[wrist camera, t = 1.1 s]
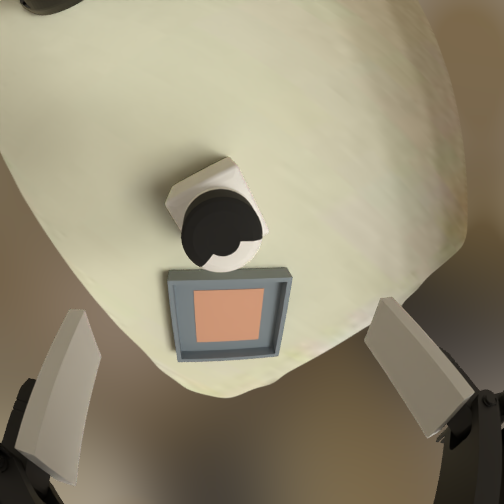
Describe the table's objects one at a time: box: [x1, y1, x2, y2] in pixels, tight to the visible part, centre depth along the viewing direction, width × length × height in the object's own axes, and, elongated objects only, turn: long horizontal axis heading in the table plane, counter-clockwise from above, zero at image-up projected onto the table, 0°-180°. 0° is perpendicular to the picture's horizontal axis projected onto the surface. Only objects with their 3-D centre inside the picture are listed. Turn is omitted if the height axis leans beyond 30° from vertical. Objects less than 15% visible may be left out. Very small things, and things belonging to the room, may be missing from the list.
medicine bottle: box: [165, 157, 269, 272], centre depth 25 cm, size 7×7×12 cm
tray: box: [167, 268, 293, 362], centre depth 36 cm, size 14×15×2 cm
